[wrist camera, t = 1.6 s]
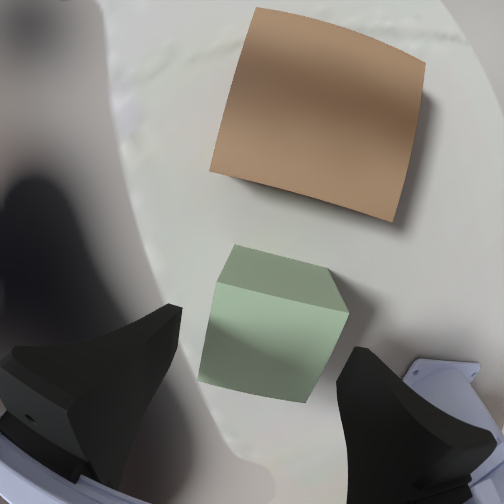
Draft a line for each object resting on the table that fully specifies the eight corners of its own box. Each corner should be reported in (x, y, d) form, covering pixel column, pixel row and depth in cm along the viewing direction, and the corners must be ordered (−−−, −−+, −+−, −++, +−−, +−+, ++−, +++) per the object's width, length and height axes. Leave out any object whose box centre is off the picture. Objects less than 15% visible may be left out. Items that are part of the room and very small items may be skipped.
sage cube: (298, 343, 16) (305, 403, 11) (216, 324, 16) (197, 380, 11) (326, 267, 15) (349, 313, 10) (234, 244, 15) (216, 281, 10)
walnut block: (370, 211, 14) (392, 222, 11) (222, 170, 14) (209, 171, 11) (400, 78, 11) (425, 62, 9) (259, 34, 11) (256, 7, 9)
